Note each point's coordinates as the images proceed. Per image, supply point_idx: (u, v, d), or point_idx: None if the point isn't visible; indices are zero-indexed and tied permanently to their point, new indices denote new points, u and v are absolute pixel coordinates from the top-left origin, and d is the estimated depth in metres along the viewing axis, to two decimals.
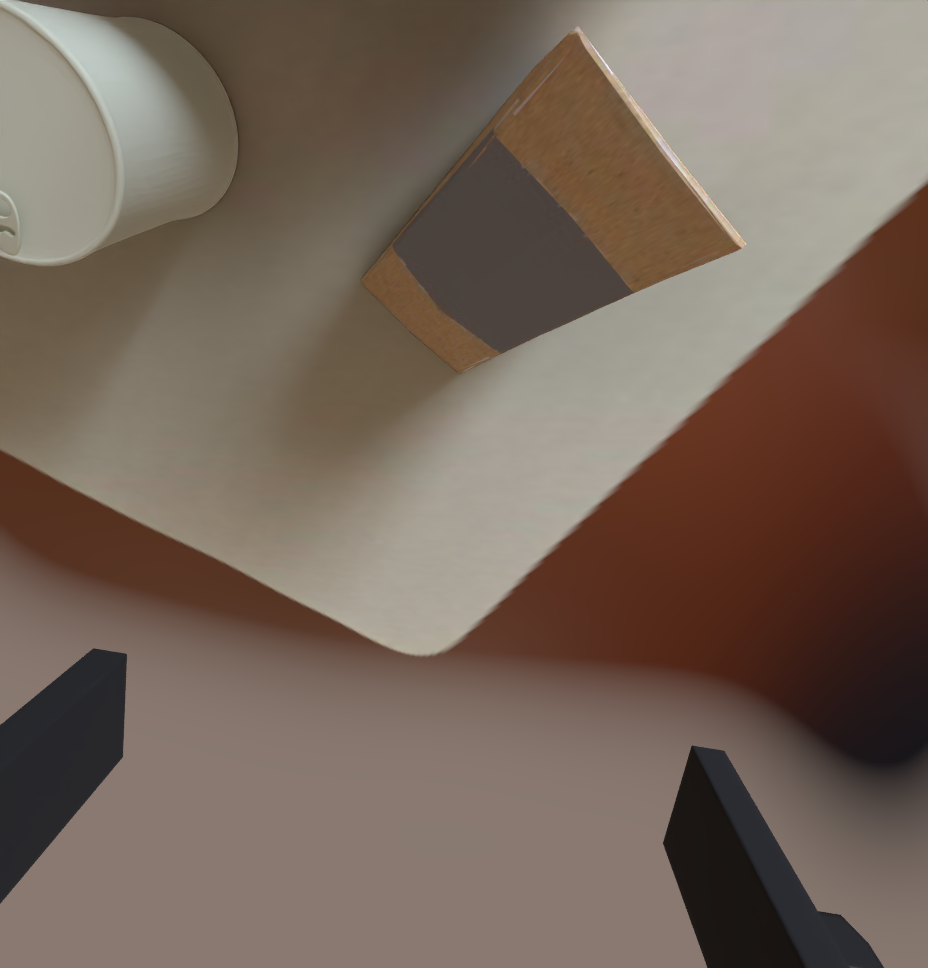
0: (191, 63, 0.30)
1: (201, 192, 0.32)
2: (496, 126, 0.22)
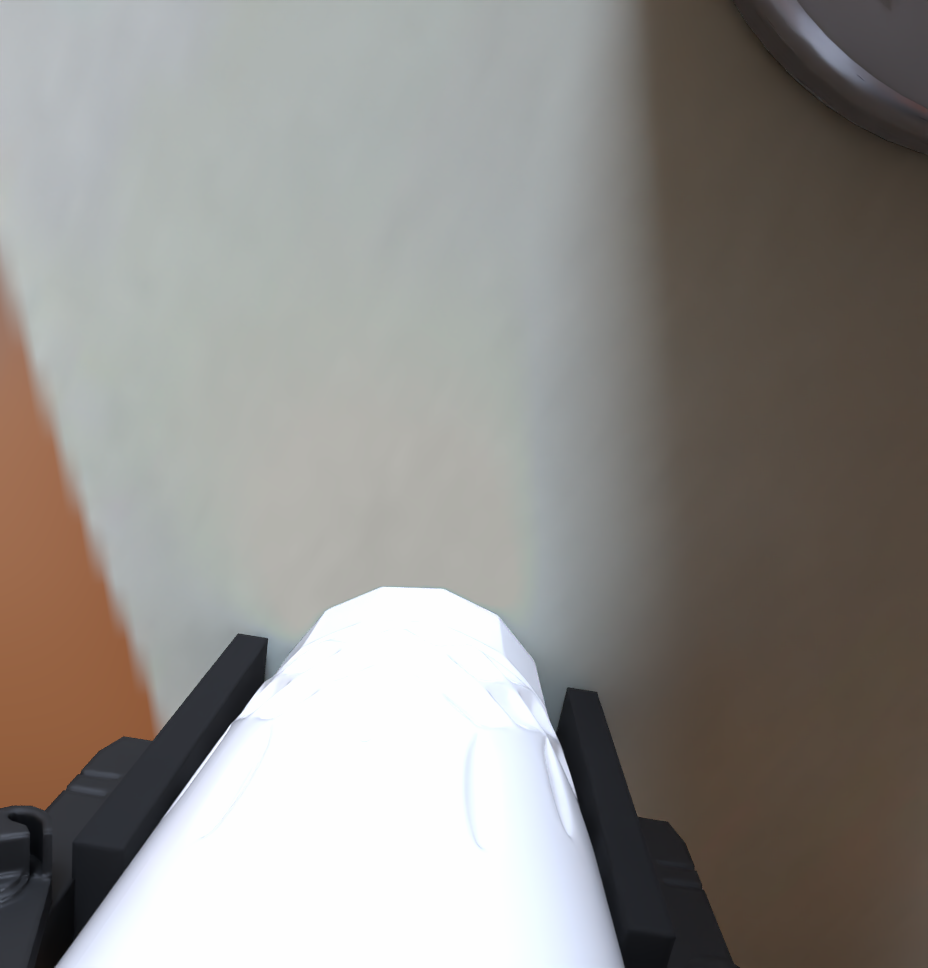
0: None
1: None
2: None
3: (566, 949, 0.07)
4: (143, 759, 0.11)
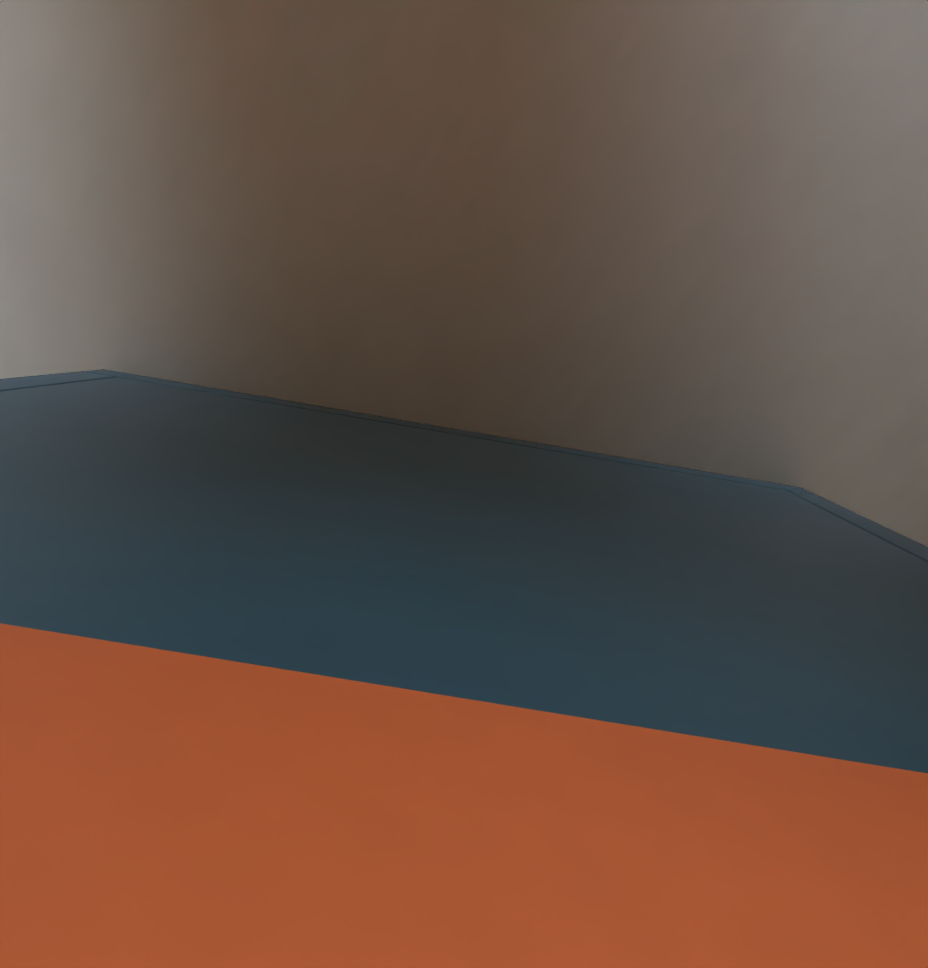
0: None
1: None
2: None
3: None
4: None
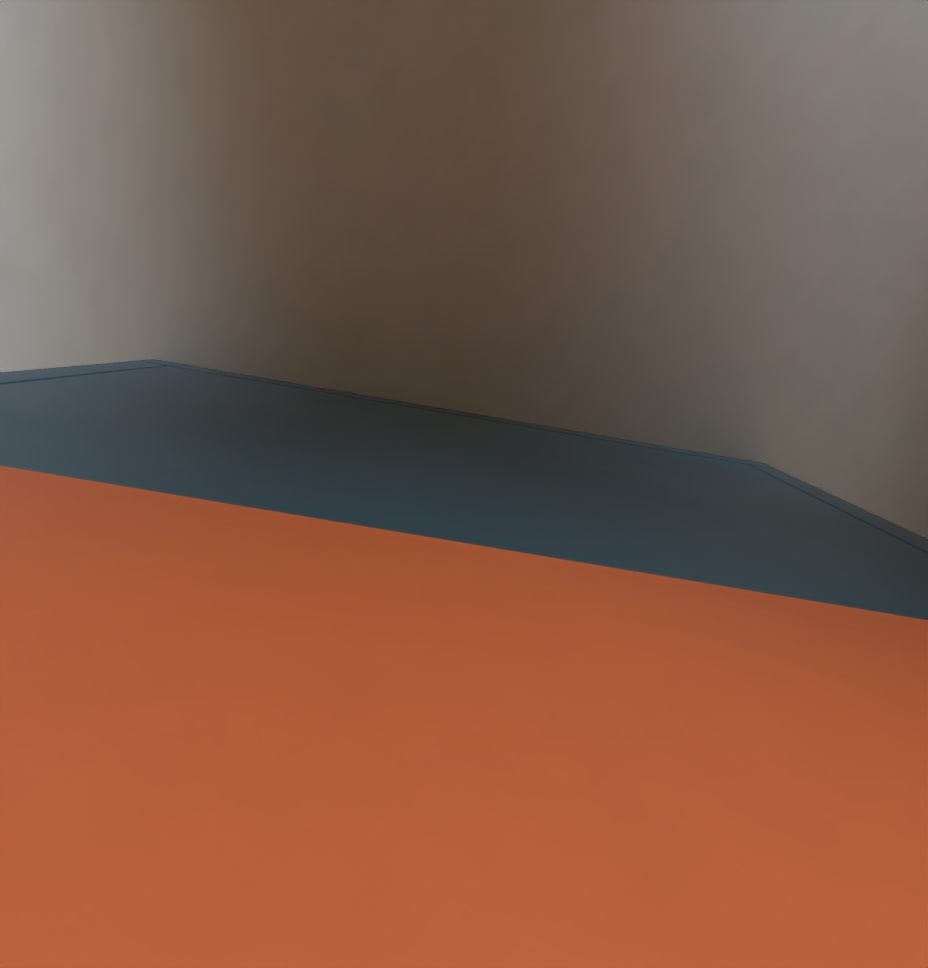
0: None
1: None
2: None
3: None
4: None
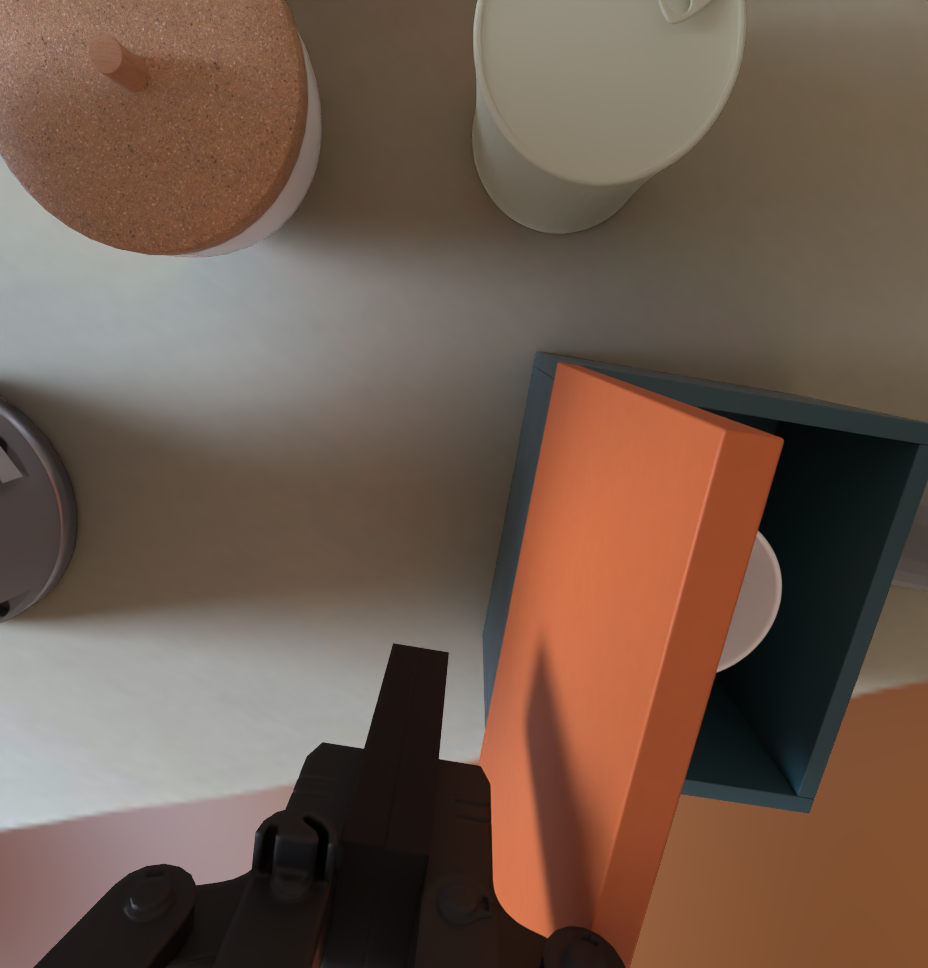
0: None
1: None
2: None
3: None
4: (364, 764, 0.12)
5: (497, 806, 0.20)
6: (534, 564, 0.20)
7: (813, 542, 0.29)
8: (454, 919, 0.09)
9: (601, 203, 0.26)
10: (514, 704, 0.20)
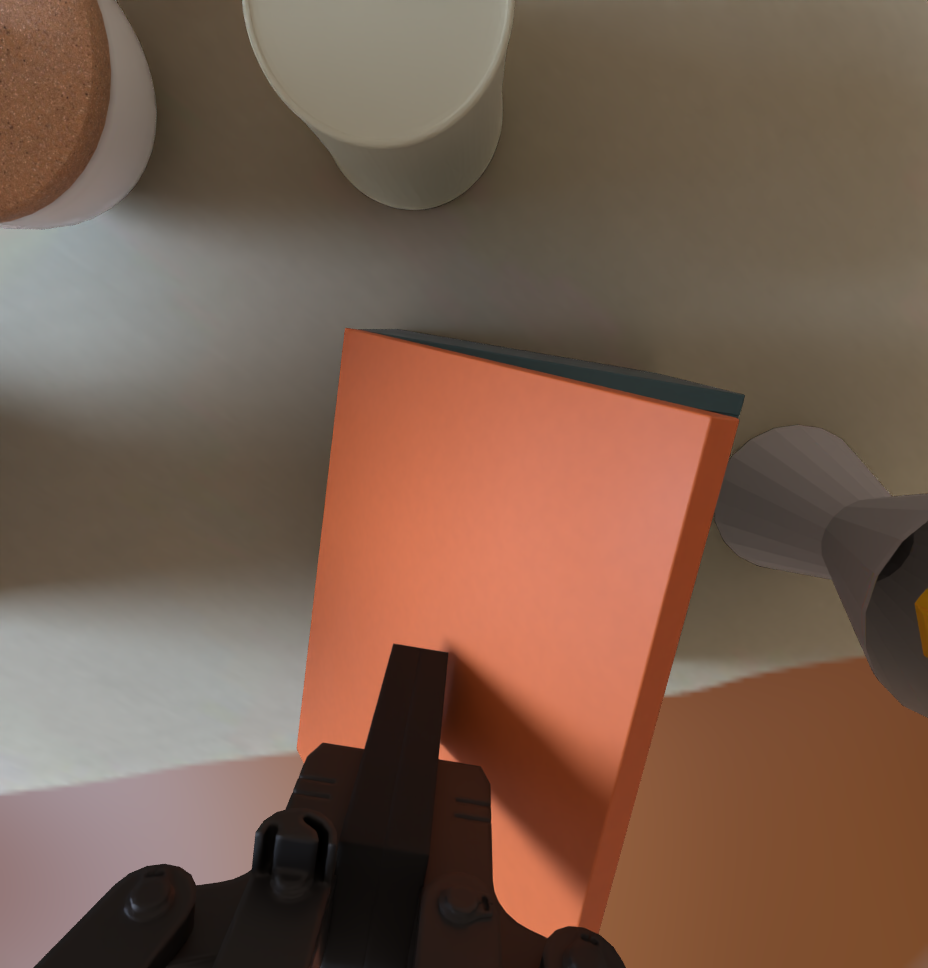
0: None
1: None
2: None
3: None
4: (364, 764, 0.12)
5: None
6: (366, 534, 0.21)
7: None
8: (454, 919, 0.09)
9: (418, 172, 0.26)
10: (370, 672, 0.21)
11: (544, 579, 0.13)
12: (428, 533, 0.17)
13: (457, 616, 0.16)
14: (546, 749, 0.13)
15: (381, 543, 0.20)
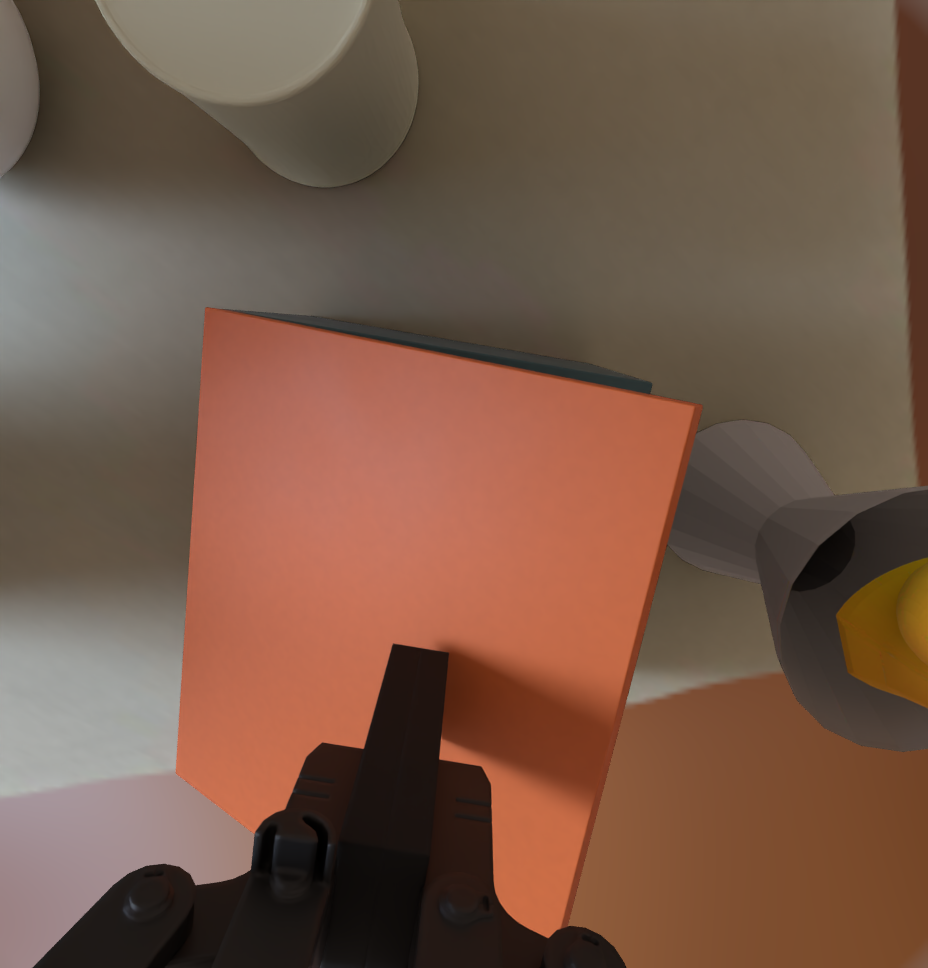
0: None
1: None
2: None
3: None
4: (363, 764, 0.12)
5: (298, 769, 0.20)
6: (270, 532, 0.20)
7: None
8: (455, 919, 0.09)
9: (306, 140, 0.24)
10: (292, 671, 0.20)
11: (526, 552, 0.15)
12: (368, 523, 0.17)
13: (417, 598, 0.17)
14: (540, 697, 0.15)
15: (296, 539, 0.19)
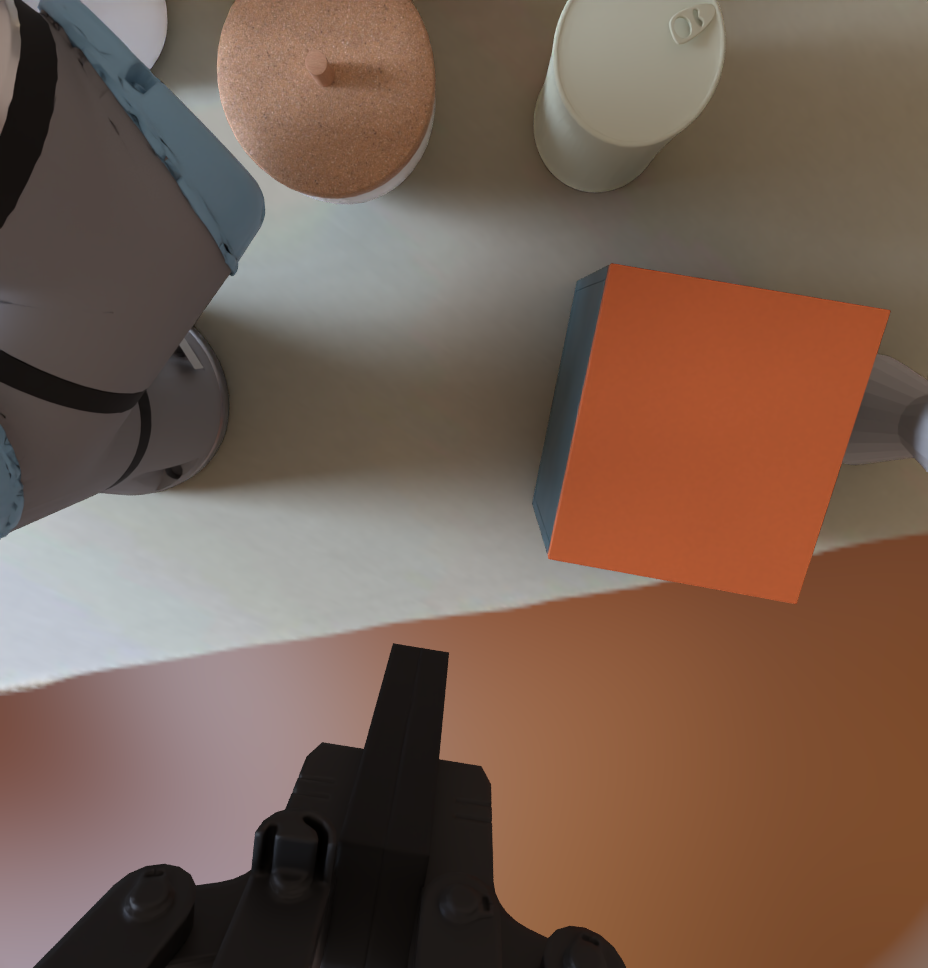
0: (538, 104, 0.42)
1: None
2: None
3: None
4: (364, 764, 0.12)
5: (660, 521, 0.38)
6: (652, 390, 0.36)
7: None
8: (455, 919, 0.09)
9: (629, 164, 0.38)
10: (662, 466, 0.37)
11: (813, 377, 0.35)
12: (724, 376, 0.35)
13: (751, 409, 0.36)
14: (815, 441, 0.36)
15: (672, 391, 0.36)
